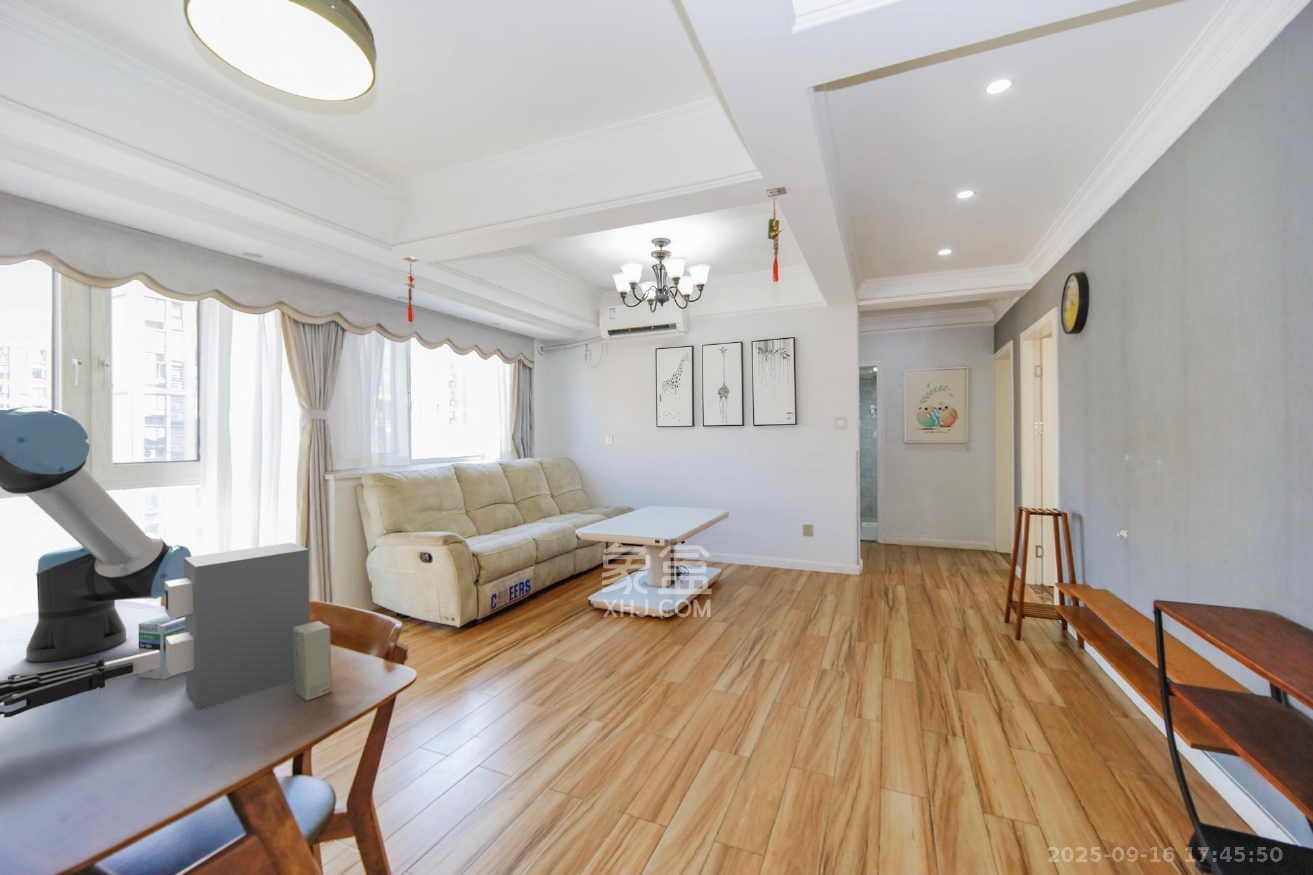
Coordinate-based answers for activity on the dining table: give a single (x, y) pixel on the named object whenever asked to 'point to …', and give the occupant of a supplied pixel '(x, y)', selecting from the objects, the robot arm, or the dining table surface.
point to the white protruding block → (179, 597)
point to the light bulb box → (159, 641)
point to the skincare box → (312, 659)
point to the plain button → (179, 653)
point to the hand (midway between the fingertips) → (159, 658)
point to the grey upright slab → (245, 620)
